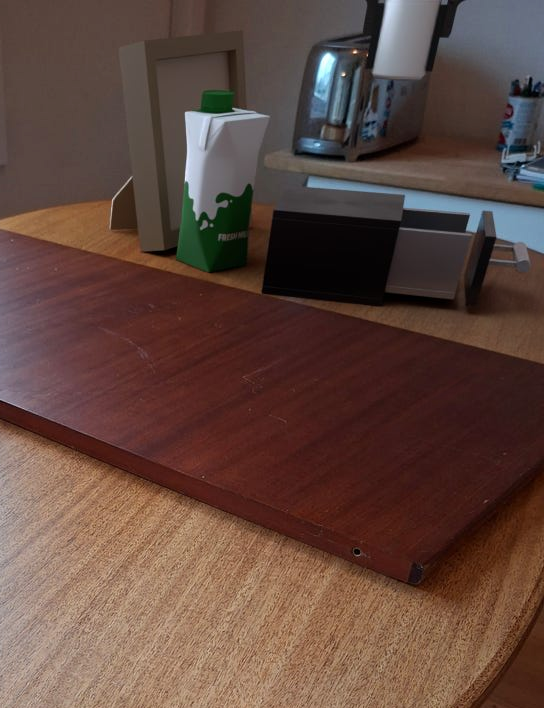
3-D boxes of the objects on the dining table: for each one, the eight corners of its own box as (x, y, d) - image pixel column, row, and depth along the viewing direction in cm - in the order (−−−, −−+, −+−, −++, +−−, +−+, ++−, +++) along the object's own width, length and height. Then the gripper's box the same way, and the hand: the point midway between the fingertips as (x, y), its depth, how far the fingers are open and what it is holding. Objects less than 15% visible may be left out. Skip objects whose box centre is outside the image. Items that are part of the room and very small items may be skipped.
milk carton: (213, 249, 126) (231, 87, 114) (257, 265, 121) (281, 96, 108) (166, 259, 123) (179, 92, 110) (208, 276, 117) (227, 102, 104)
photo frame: (251, 228, 136) (277, 32, 120) (163, 257, 123) (179, 44, 108) (175, 211, 144) (190, 25, 128) (86, 237, 131) (90, 35, 115)
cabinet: (387, 274, 118) (405, 194, 112) (381, 306, 108) (401, 220, 102) (276, 263, 122) (288, 185, 115) (261, 293, 112) (273, 209, 105)
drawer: (512, 280, 113) (534, 214, 108) (518, 311, 104) (542, 241, 99) (366, 265, 118) (380, 201, 113) (359, 294, 108) (374, 226, 103)
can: (416, 82, 106) (444, -44, 98) (363, 78, 108) (386, -45, 101) (430, 76, 110) (457, -45, 102) (379, 73, 113) (402, -46, 105)
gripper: (546, -185, 94) (481, 69, 109) (361, -180, 99) (322, 62, 114) (552, -193, 89) (482, 76, 103) (355, -187, 94) (315, 68, 108)
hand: (399, 68), depth 108 cm, fingers closed on can, 6 cm apart
